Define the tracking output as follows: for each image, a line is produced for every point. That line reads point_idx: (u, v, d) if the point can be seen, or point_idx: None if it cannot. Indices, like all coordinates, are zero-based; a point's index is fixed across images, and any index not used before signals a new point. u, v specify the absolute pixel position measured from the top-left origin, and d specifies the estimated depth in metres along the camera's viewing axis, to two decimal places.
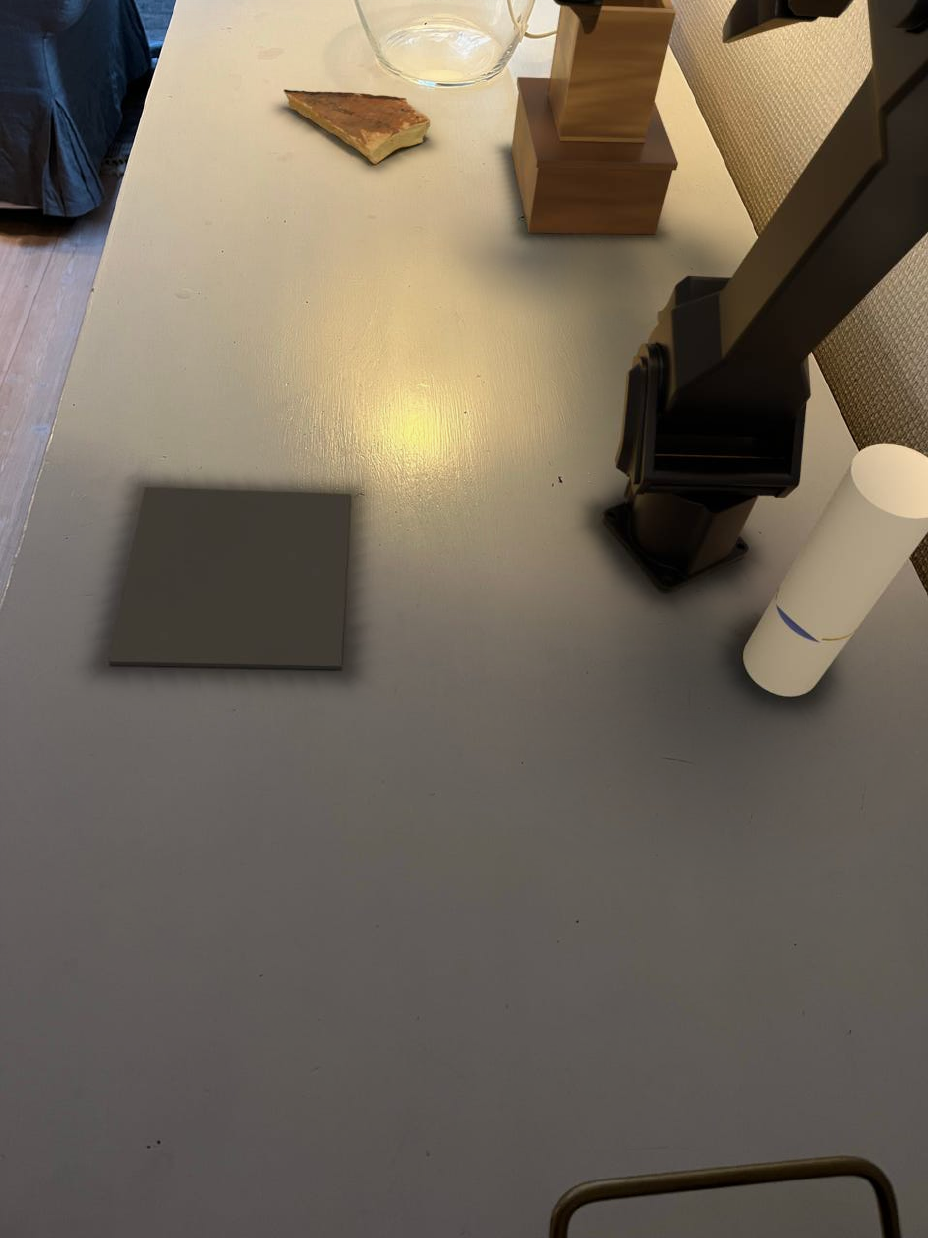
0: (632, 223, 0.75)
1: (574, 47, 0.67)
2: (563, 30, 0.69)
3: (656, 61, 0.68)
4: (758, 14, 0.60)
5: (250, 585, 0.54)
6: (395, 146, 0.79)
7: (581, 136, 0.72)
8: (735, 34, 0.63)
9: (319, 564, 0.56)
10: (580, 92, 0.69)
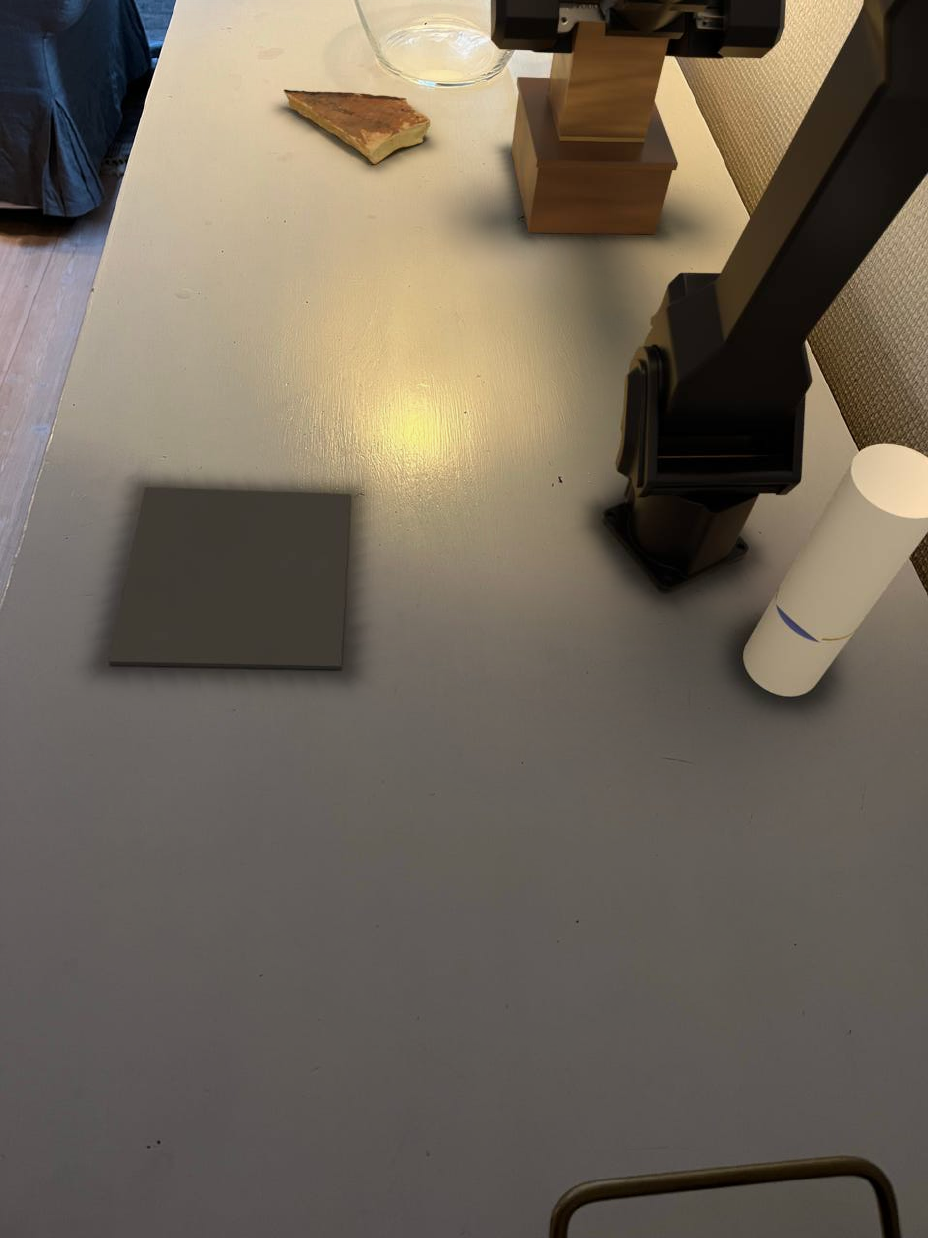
0: (632, 223, 0.75)
1: (574, 47, 0.67)
2: None
3: (656, 61, 0.68)
4: (675, 45, 0.67)
5: (250, 585, 0.54)
6: (395, 146, 0.79)
7: (581, 136, 0.72)
8: None
9: (319, 564, 0.56)
10: (580, 92, 0.69)
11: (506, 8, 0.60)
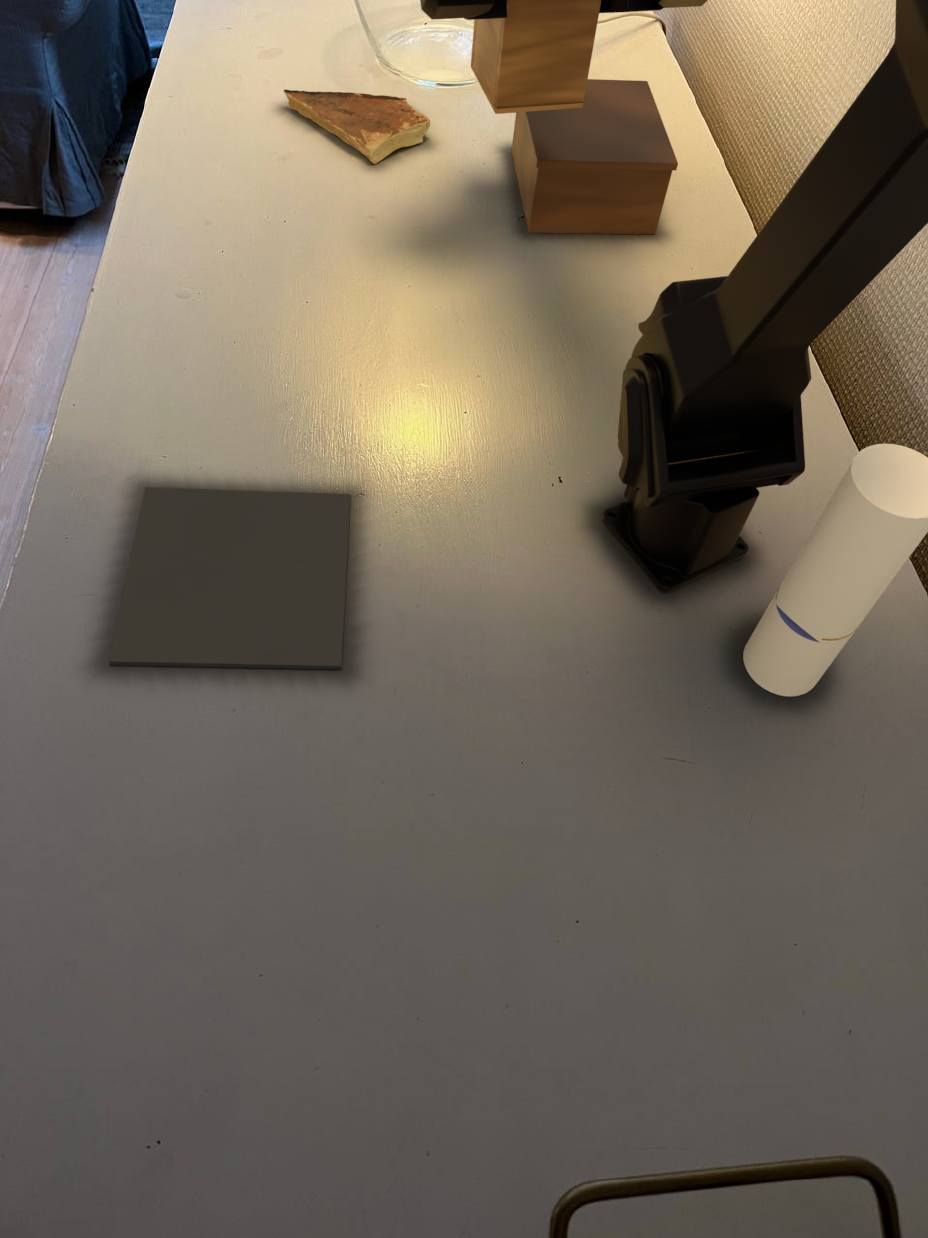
0: (632, 223, 0.75)
1: None
2: None
3: (590, 19, 0.64)
4: (608, 0, 0.63)
5: (250, 585, 0.54)
6: (395, 146, 0.79)
7: (517, 107, 0.67)
8: None
9: (319, 564, 0.56)
10: (514, 59, 0.65)
11: None
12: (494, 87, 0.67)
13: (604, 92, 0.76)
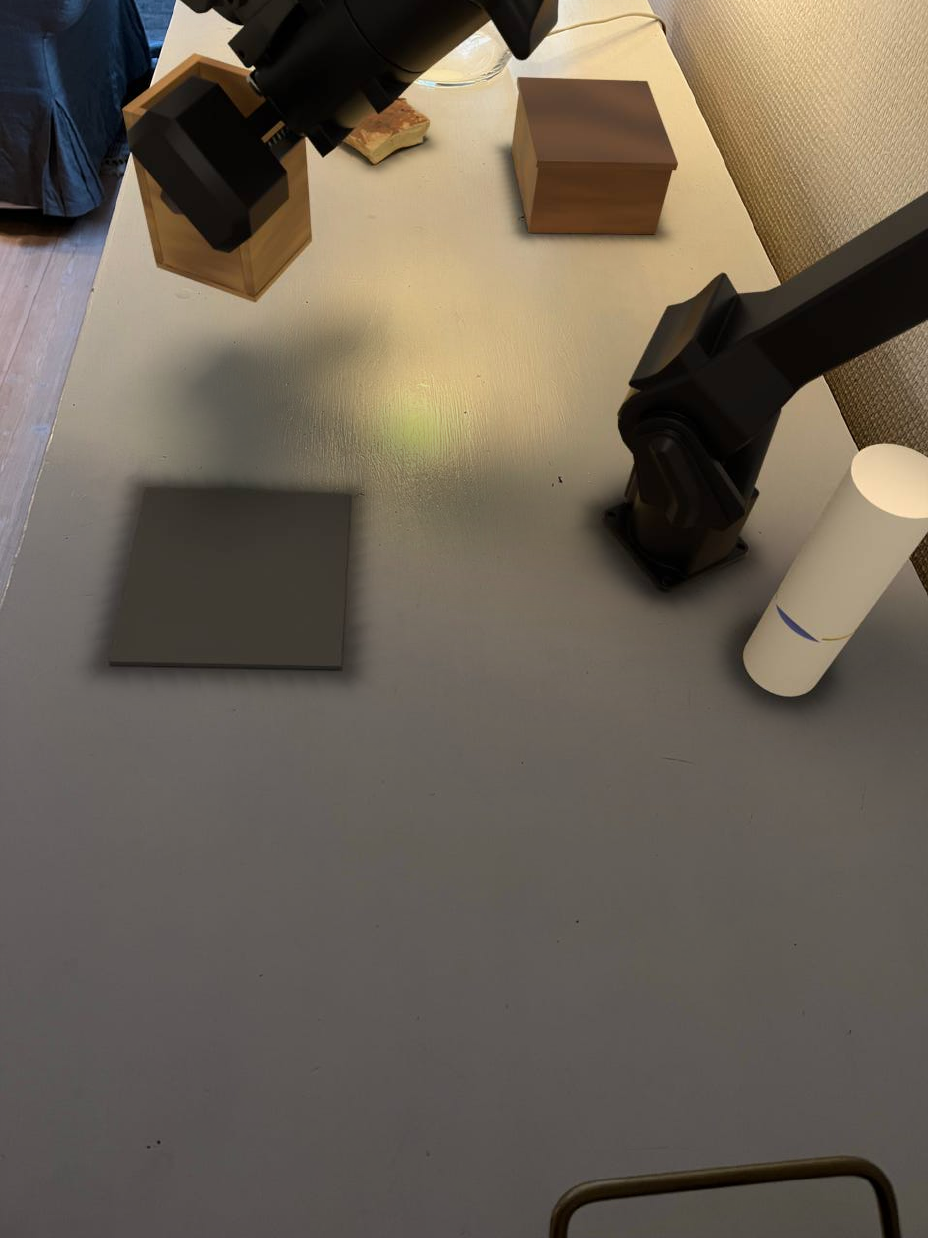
0: (632, 223, 0.75)
1: None
2: None
3: (301, 150, 0.53)
4: None
5: (250, 585, 0.54)
6: (395, 146, 0.79)
7: (270, 281, 0.55)
8: None
9: (319, 564, 0.56)
10: (258, 237, 0.52)
11: (241, 201, 0.42)
12: (241, 276, 0.53)
13: (604, 92, 0.76)
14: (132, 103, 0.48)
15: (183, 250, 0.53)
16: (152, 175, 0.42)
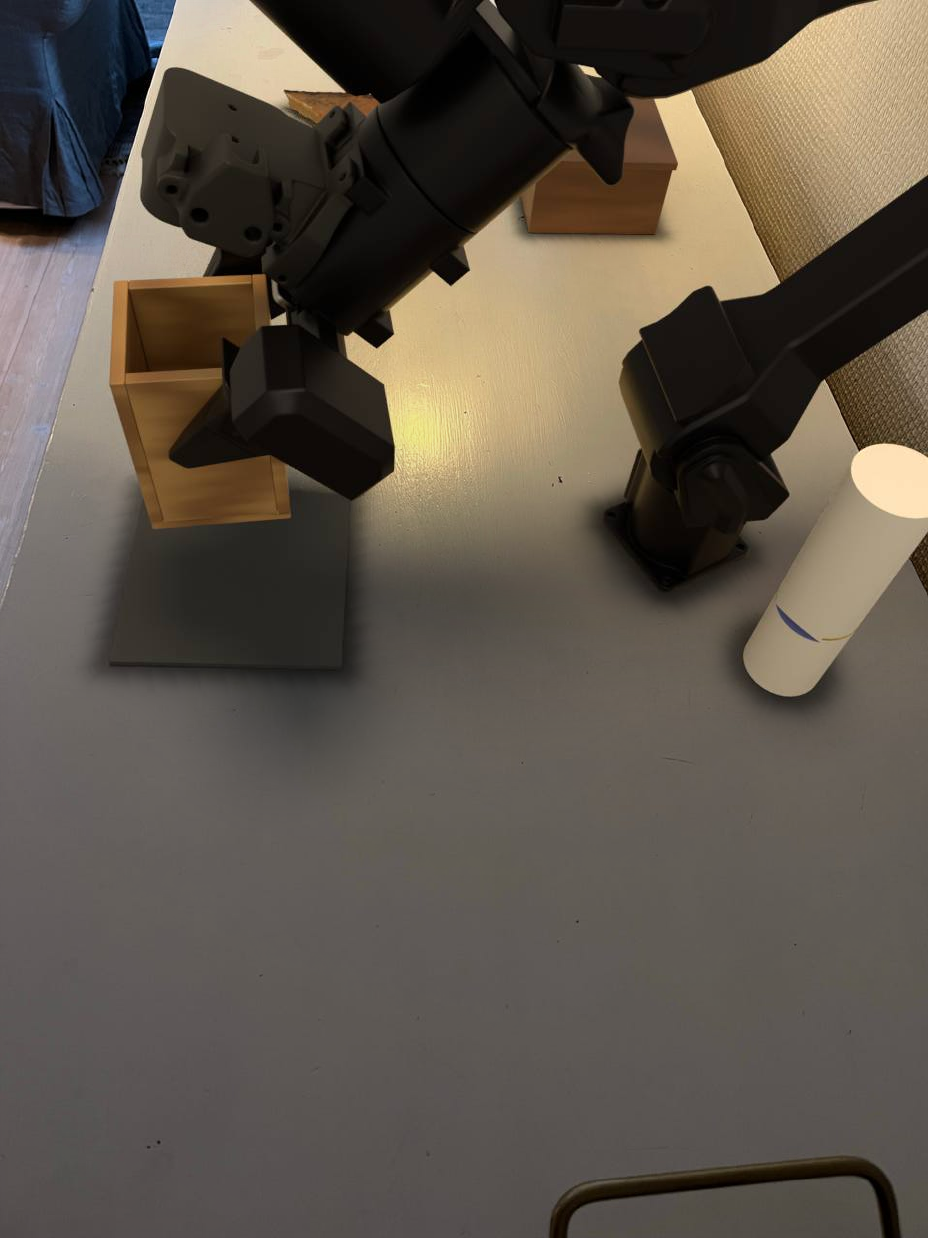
0: (632, 223, 0.75)
1: None
2: None
3: None
4: (274, 304, 0.45)
5: (250, 585, 0.54)
6: None
7: None
8: None
9: (319, 564, 0.56)
10: None
11: (386, 441, 0.36)
12: (273, 499, 0.46)
13: None
14: (114, 371, 0.39)
15: (193, 500, 0.45)
16: (276, 456, 0.35)
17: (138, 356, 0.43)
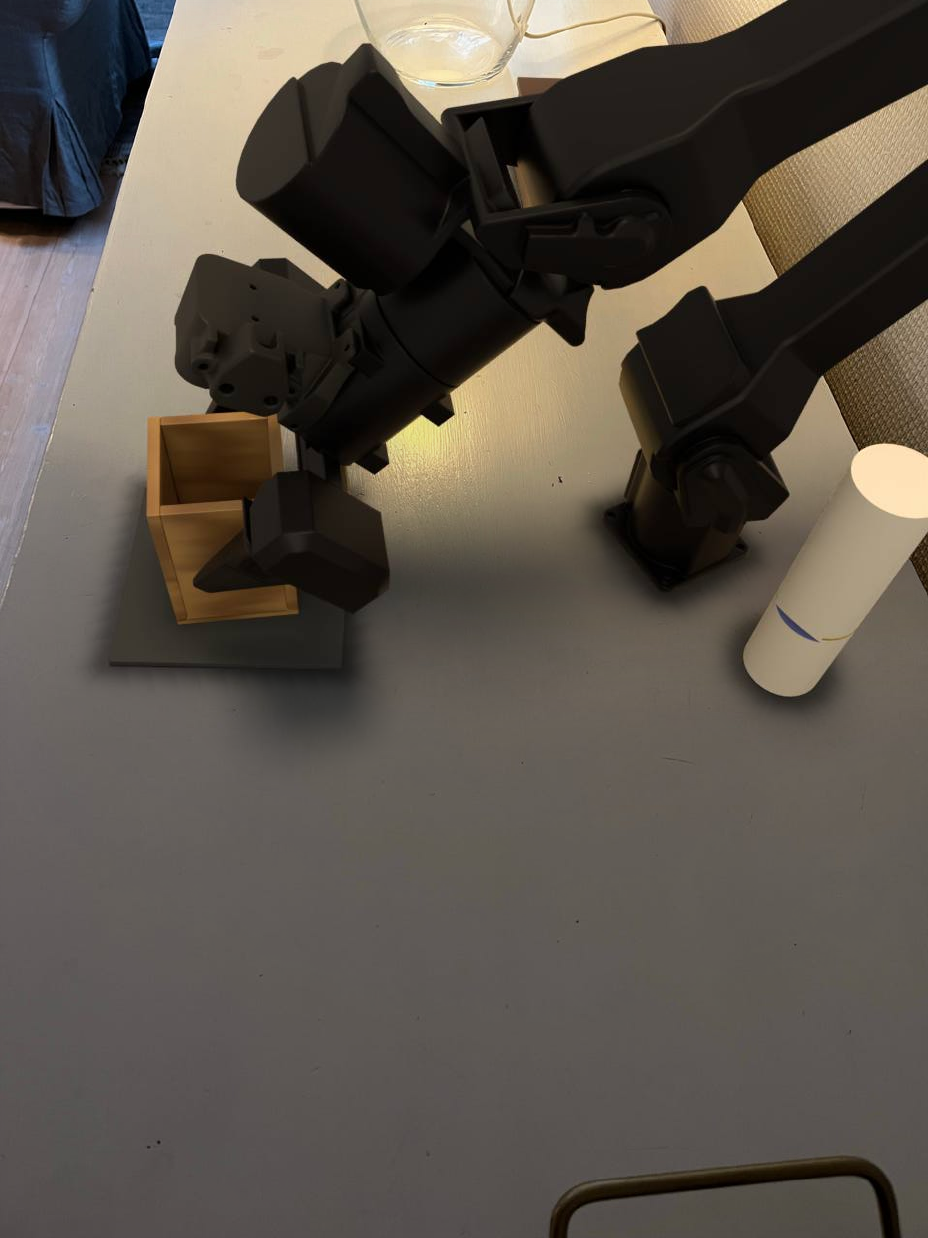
0: None
1: None
2: (206, 556, 0.48)
3: None
4: None
5: None
6: None
7: None
8: None
9: None
10: None
11: (383, 567, 0.42)
12: (284, 599, 0.52)
13: None
14: (150, 504, 0.46)
15: (214, 601, 0.51)
16: (289, 582, 0.41)
17: (168, 480, 0.49)
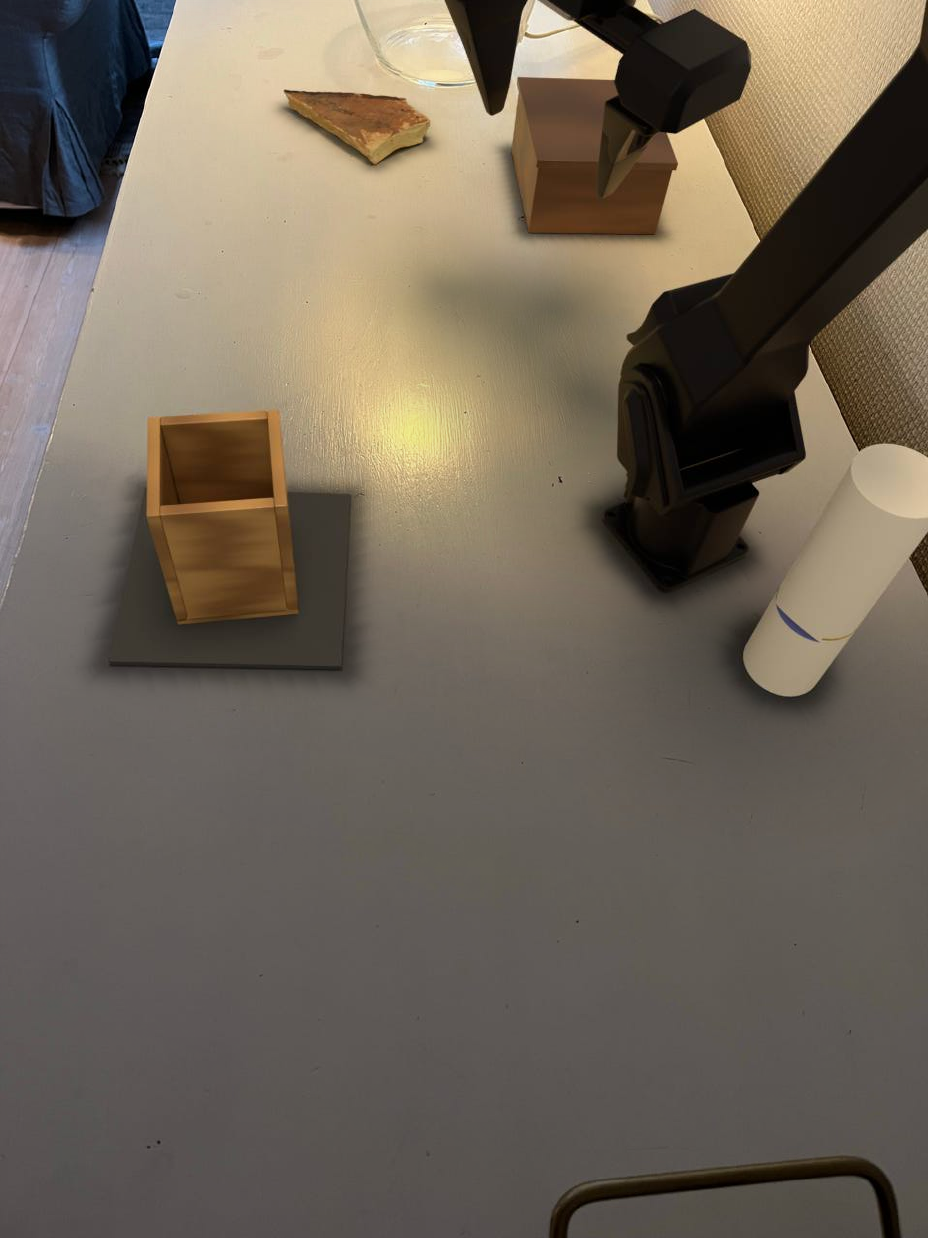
0: (632, 223, 0.75)
1: (287, 539, 0.48)
2: (206, 556, 0.48)
3: None
4: None
5: None
6: (395, 146, 0.79)
7: None
8: (598, 167, 0.54)
9: (319, 564, 0.56)
10: (293, 560, 0.51)
11: None
12: (284, 599, 0.52)
13: (604, 92, 0.76)
14: (150, 504, 0.46)
15: (214, 601, 0.51)
16: None
17: (168, 480, 0.49)
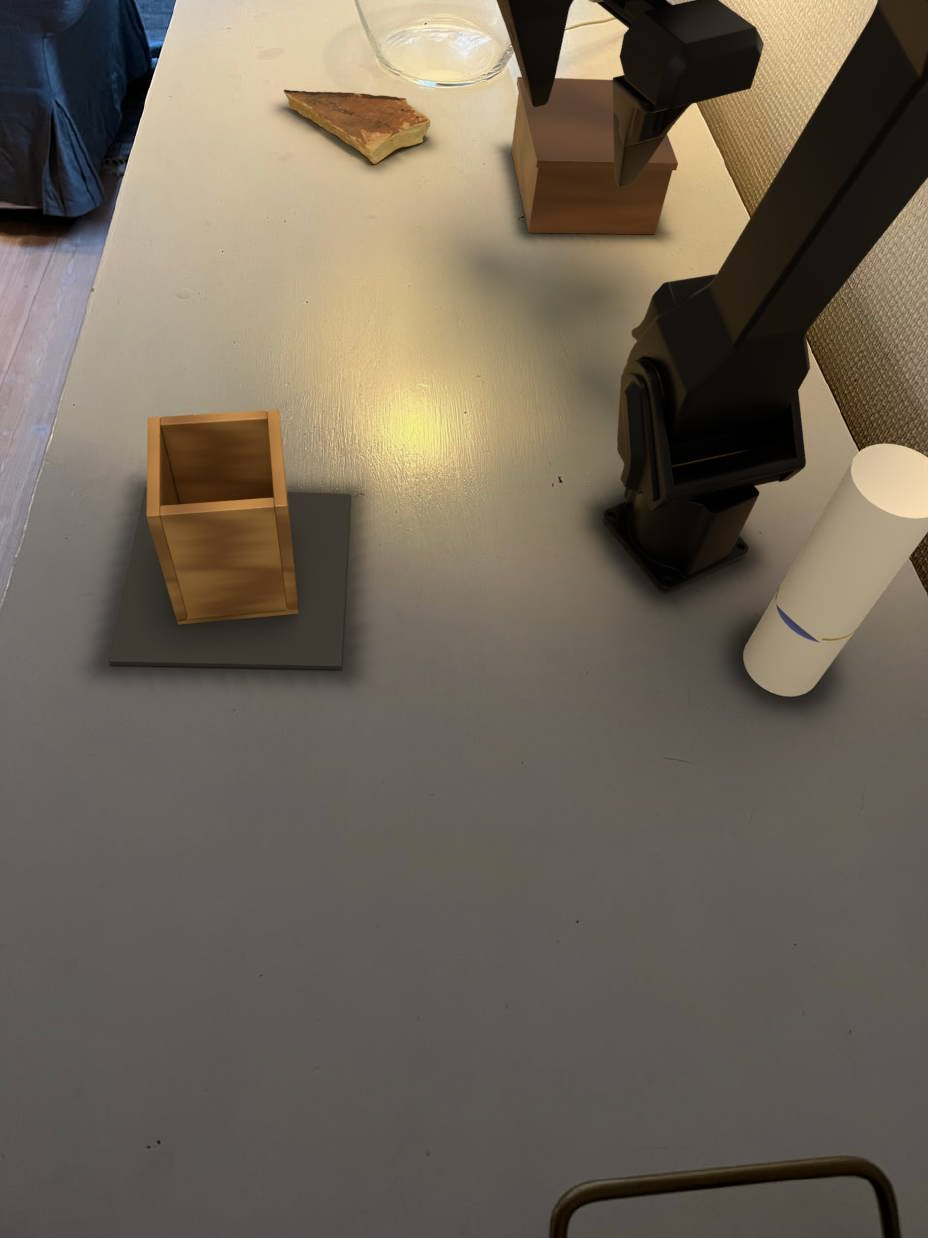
0: (632, 223, 0.75)
1: (287, 539, 0.48)
2: (206, 556, 0.48)
3: None
4: None
5: None
6: (395, 146, 0.79)
7: None
8: (614, 152, 0.55)
9: (319, 564, 0.56)
10: (293, 560, 0.51)
11: None
12: (284, 599, 0.52)
13: (604, 92, 0.76)
14: (150, 504, 0.46)
15: (214, 601, 0.51)
16: None
17: (168, 480, 0.49)
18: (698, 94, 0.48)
